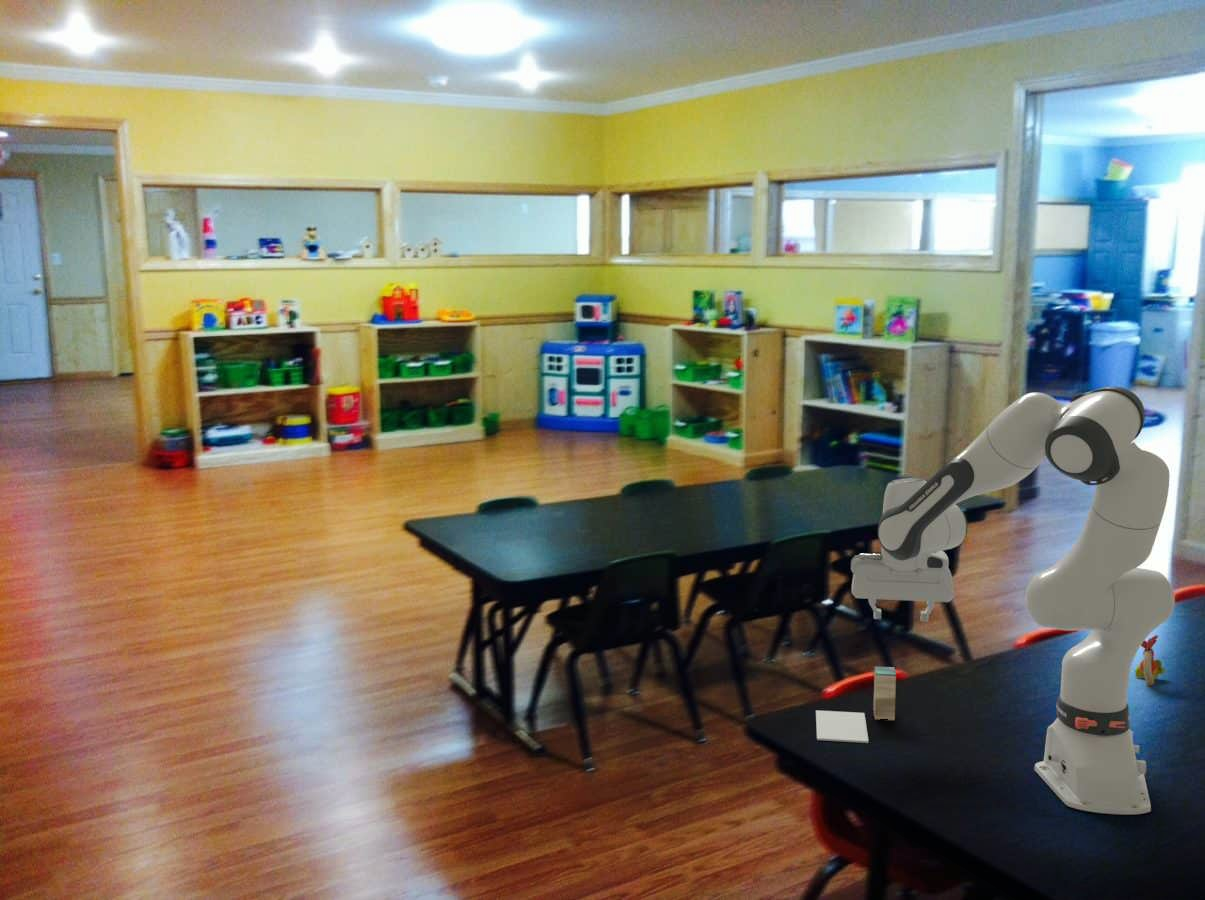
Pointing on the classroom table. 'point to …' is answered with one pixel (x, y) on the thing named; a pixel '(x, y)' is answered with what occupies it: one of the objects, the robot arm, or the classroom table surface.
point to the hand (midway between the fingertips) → (900, 619)
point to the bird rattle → (1149, 663)
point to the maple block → (884, 693)
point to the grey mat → (841, 726)
